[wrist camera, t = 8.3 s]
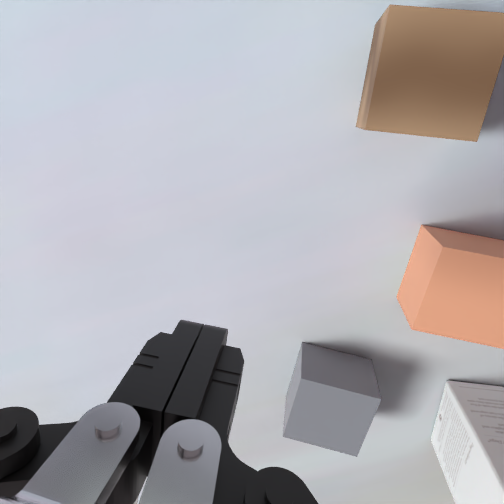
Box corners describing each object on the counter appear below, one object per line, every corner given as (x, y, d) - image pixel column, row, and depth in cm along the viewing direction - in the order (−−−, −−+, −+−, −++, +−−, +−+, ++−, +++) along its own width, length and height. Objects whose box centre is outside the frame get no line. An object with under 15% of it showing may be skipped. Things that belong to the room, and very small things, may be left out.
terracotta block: (420, 224, 22) (442, 246, 19) (506, 240, 22) (545, 266, 18) (396, 296, 24) (411, 329, 21) (474, 312, 24) (504, 348, 20)
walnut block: (374, 25, 19) (390, 4, 15) (475, 33, 19) (516, 13, 15) (355, 126, 21) (364, 129, 17) (447, 136, 20) (477, 141, 17)
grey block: (302, 341, 26) (300, 378, 23) (371, 358, 26) (381, 399, 22) (286, 394, 28) (282, 436, 25) (350, 411, 28) (356, 456, 24)
